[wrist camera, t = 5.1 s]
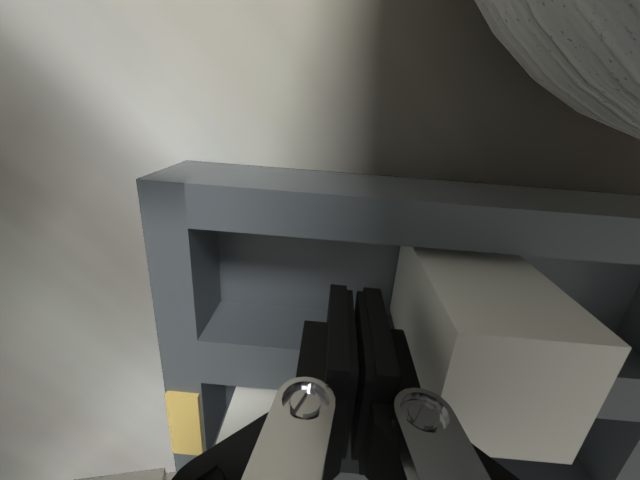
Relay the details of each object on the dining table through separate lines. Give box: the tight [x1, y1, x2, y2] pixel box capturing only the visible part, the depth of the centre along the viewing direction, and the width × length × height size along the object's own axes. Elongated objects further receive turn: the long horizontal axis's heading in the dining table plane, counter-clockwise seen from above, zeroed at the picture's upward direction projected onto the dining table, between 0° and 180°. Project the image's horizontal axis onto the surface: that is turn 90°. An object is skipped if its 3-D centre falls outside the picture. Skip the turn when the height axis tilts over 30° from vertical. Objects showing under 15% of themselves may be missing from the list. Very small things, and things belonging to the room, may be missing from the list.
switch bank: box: [136, 161, 640, 480], centre depth 17 cm, size 22×22×4 cm
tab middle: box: [215, 386, 278, 445], centre depth 15 cm, size 4×4×7 cm
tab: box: [390, 246, 632, 465], centre depth 12 cm, size 4×4×7 cm
